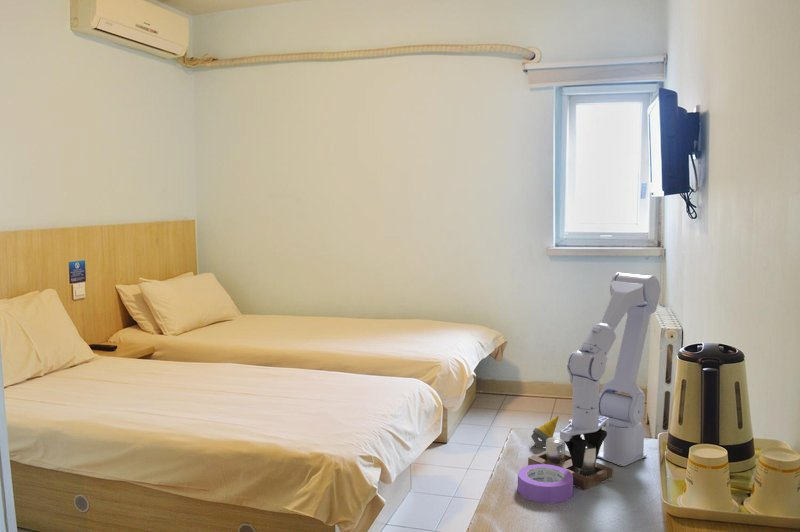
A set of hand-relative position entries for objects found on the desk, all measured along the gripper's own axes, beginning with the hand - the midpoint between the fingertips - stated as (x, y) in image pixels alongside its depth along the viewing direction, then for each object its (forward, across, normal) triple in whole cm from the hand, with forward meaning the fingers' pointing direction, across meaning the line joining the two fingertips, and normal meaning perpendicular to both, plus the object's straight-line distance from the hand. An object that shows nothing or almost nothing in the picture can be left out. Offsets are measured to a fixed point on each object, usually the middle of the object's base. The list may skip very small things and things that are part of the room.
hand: (584, 463), depth 158 cm
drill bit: (+3, -8, -19) cm, 21 cm away
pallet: (+3, 0, -4) cm, 5 cm away
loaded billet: (+3, 0, -8) cm, 9 cm away
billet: (+2, 0, 0) cm, 2 cm away
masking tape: (+4, +12, -1) cm, 12 cm away
